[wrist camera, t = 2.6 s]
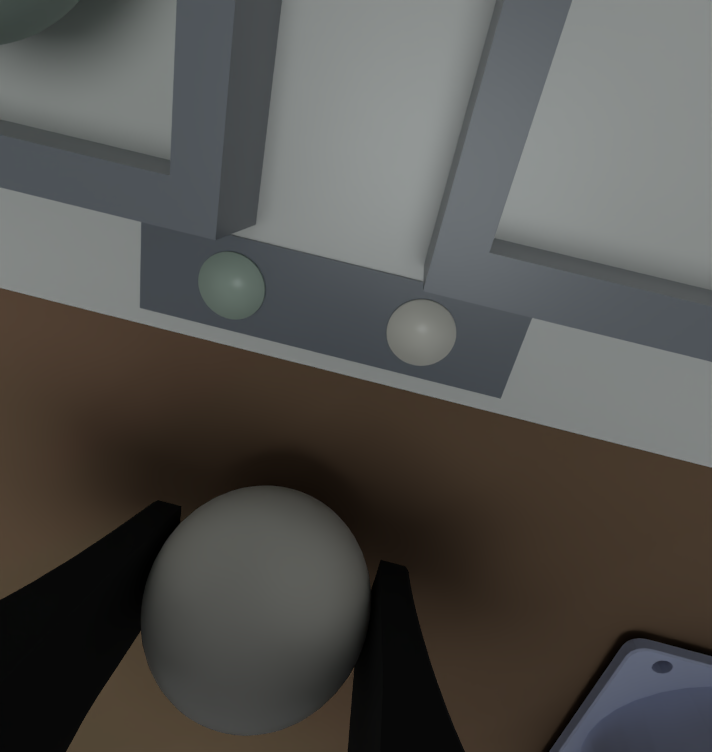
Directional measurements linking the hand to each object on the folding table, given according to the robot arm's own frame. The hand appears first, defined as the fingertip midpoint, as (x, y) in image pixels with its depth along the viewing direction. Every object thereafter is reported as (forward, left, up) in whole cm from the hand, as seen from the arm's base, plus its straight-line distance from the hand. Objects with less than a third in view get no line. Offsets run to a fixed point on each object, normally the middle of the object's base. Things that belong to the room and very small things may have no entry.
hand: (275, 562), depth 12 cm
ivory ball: (0, 0, +1) cm, 1 cm away
